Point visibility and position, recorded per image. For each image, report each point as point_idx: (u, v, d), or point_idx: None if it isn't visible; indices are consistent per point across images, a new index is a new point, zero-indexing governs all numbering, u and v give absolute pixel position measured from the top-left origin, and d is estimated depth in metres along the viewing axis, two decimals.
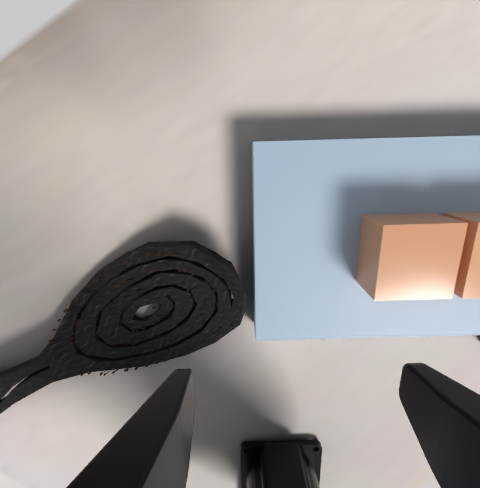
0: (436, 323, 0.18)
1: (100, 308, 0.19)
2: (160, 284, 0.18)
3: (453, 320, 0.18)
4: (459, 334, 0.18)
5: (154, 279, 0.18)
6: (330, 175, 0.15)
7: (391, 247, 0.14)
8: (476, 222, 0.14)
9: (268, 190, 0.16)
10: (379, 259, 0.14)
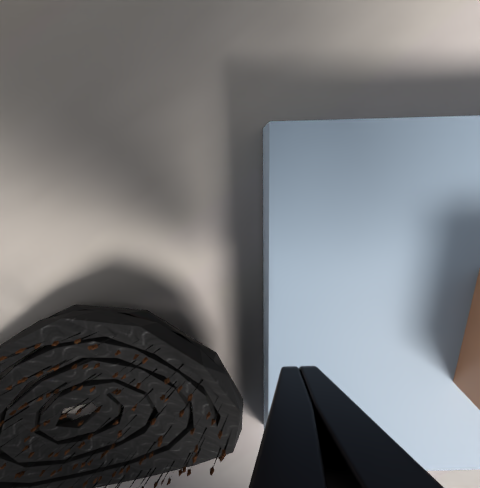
0: None
1: (0, 410, 0.12)
2: (95, 377, 0.11)
3: None
4: None
5: (84, 369, 0.11)
6: (425, 191, 0.08)
7: None
8: None
9: (298, 221, 0.08)
10: None
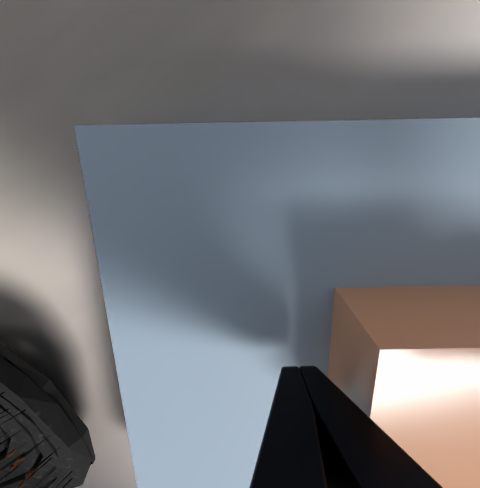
0: None
1: None
2: None
3: None
4: None
5: None
6: (261, 204, 0.07)
7: (398, 400, 0.05)
8: None
9: (125, 236, 0.07)
10: None
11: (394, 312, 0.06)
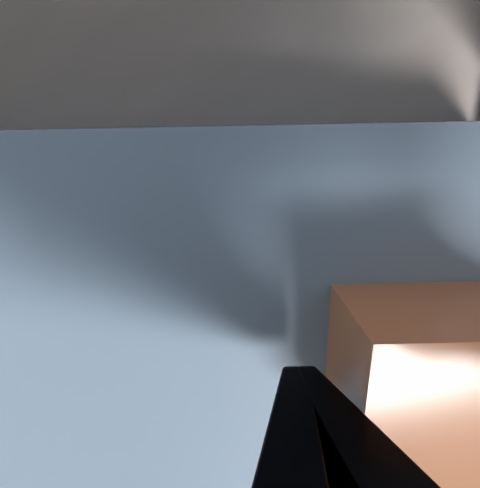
0: None
1: None
2: None
3: None
4: None
5: None
6: (24, 211, 0.07)
7: (393, 395, 0.05)
8: None
9: None
10: None
11: (389, 308, 0.06)
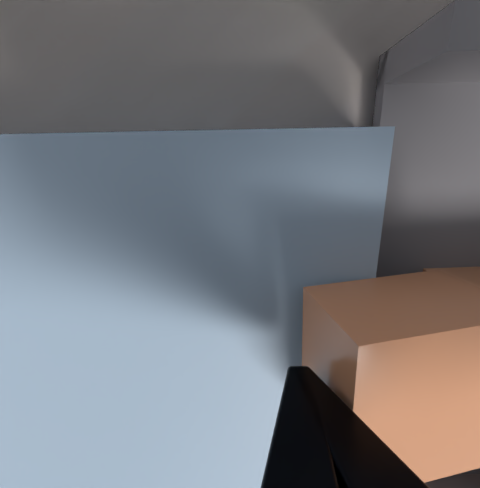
0: (214, 474, 0.10)
1: None
2: None
3: (244, 469, 0.10)
4: None
5: None
6: None
7: (377, 392, 0.06)
8: None
9: None
10: None
11: (363, 306, 0.06)
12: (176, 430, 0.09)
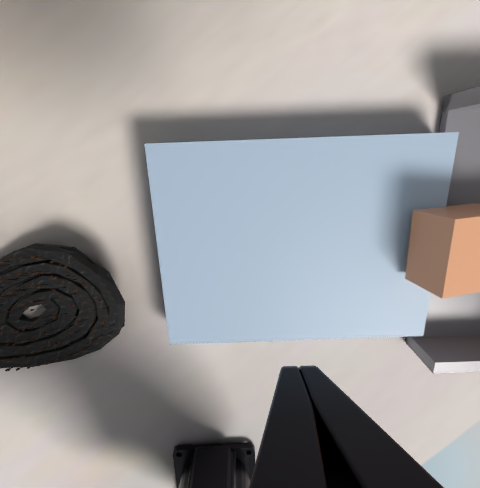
0: (350, 325, 0.18)
1: None
2: (44, 287, 0.18)
3: (367, 322, 0.18)
4: (375, 336, 0.18)
5: (38, 281, 0.18)
6: (226, 177, 0.15)
7: (460, 242, 0.13)
8: None
9: (165, 192, 0.15)
10: (448, 255, 0.14)
11: (448, 212, 0.14)
12: (333, 298, 0.17)
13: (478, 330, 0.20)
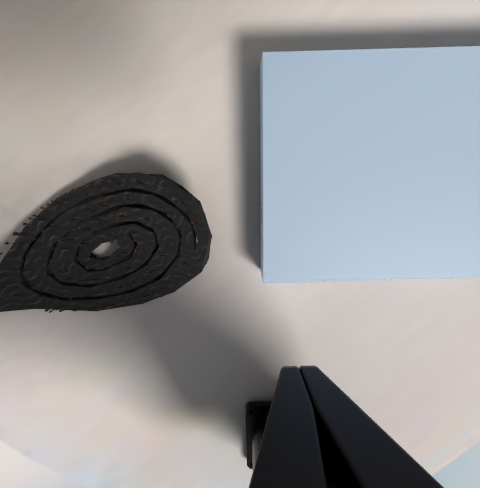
0: (456, 263, 0.17)
1: (55, 239, 0.18)
2: (122, 220, 0.17)
3: (474, 260, 0.17)
4: None
5: (117, 213, 0.17)
6: (345, 92, 0.14)
7: None
8: None
9: (278, 109, 0.14)
10: None
11: None
12: (442, 232, 0.16)
13: None
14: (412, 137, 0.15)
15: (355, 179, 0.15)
